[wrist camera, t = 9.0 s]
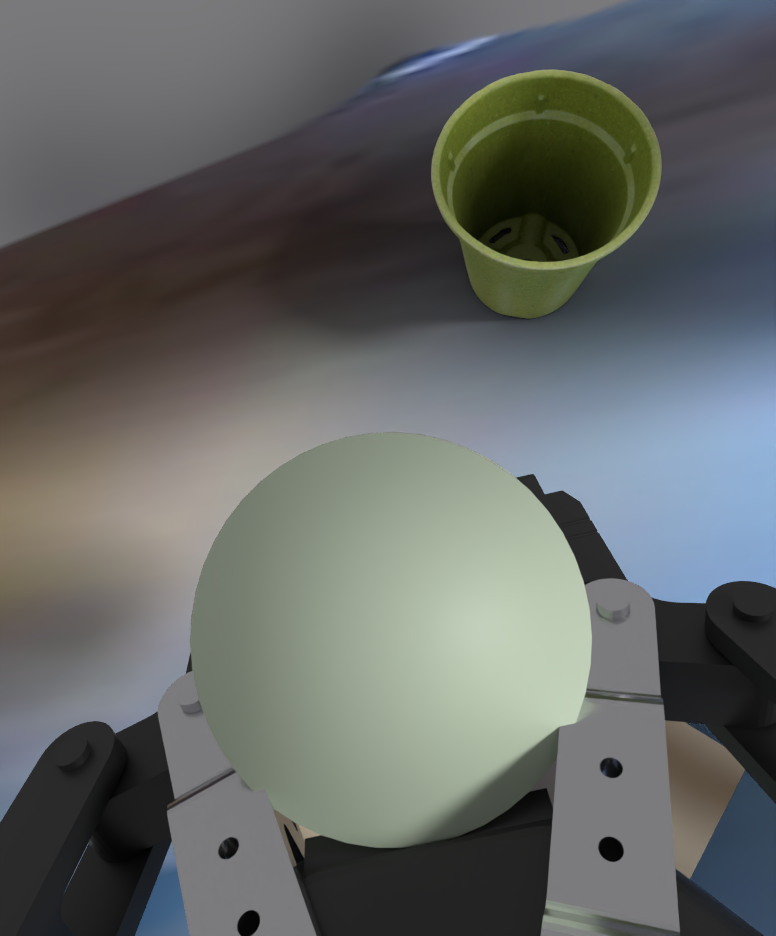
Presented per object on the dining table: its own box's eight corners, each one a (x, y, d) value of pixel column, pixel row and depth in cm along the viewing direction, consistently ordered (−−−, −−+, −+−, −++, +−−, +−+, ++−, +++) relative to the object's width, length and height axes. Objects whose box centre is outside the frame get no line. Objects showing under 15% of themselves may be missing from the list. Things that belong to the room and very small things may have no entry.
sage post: (391, 491, 19) (331, 366, 9) (547, 589, 18) (667, 563, 8) (291, 645, 18) (113, 686, 8) (449, 755, 17) (451, 945, 7)
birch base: (438, 572, 32) (436, 569, 29) (719, 745, 29) (751, 762, 26) (275, 845, 30) (256, 873, 27) (559, 1058, 28) (572, 1115, 25)
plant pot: (504, 383, 34) (521, 311, 26) (404, 254, 36) (388, 148, 28) (647, 285, 34) (711, 182, 26) (539, 163, 36) (565, 30, 28)
